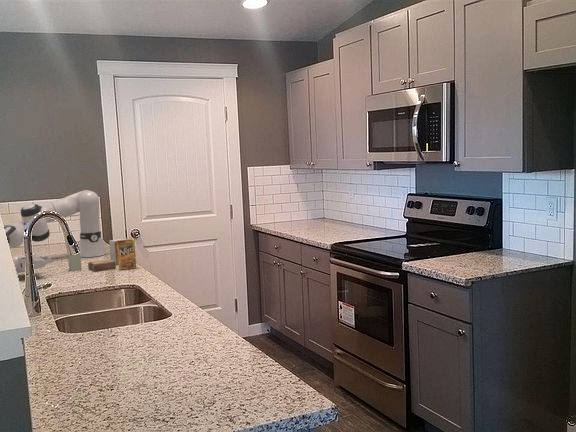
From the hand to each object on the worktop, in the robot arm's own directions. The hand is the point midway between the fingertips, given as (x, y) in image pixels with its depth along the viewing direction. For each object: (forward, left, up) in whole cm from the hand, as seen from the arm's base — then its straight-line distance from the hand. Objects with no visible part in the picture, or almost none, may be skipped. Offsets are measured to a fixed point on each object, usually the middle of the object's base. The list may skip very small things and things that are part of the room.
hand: (49, 259), depth 302 cm
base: (+9, +23, -7) cm, 26 cm away
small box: (+1, +36, -8) cm, 37 cm away
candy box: (+19, +33, -8) cm, 39 cm away
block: (0, +12, -8) cm, 14 cm away
